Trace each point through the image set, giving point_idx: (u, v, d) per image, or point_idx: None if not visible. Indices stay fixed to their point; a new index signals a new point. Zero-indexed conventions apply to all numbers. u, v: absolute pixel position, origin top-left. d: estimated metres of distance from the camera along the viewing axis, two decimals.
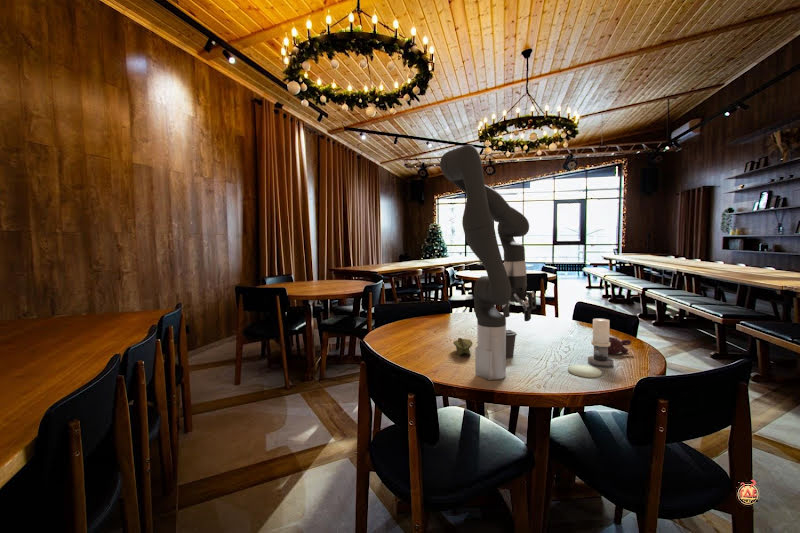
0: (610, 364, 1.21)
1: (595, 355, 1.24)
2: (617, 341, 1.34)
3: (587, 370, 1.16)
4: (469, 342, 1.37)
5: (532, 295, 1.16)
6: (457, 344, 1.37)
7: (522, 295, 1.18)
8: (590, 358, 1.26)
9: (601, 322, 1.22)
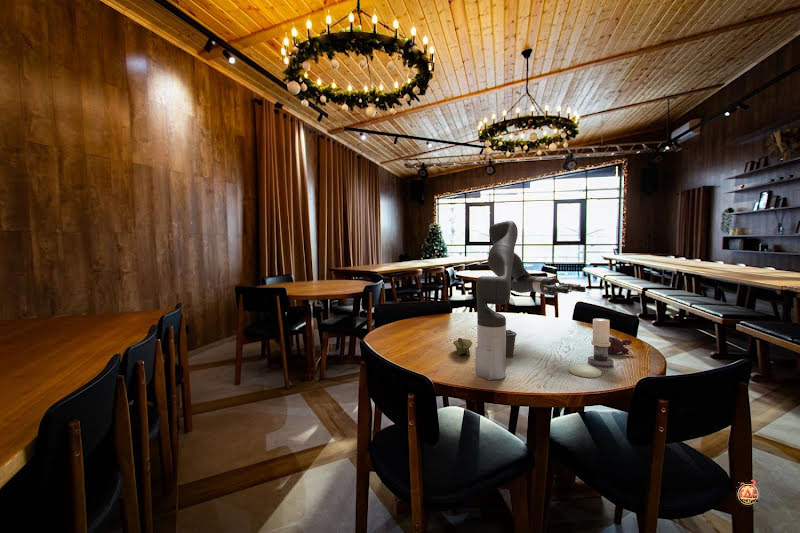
0: (610, 364, 1.21)
1: (595, 355, 1.24)
2: (617, 341, 1.34)
3: (587, 370, 1.16)
4: (469, 342, 1.37)
5: None
6: (457, 344, 1.37)
7: None
8: (590, 358, 1.26)
9: (601, 322, 1.22)
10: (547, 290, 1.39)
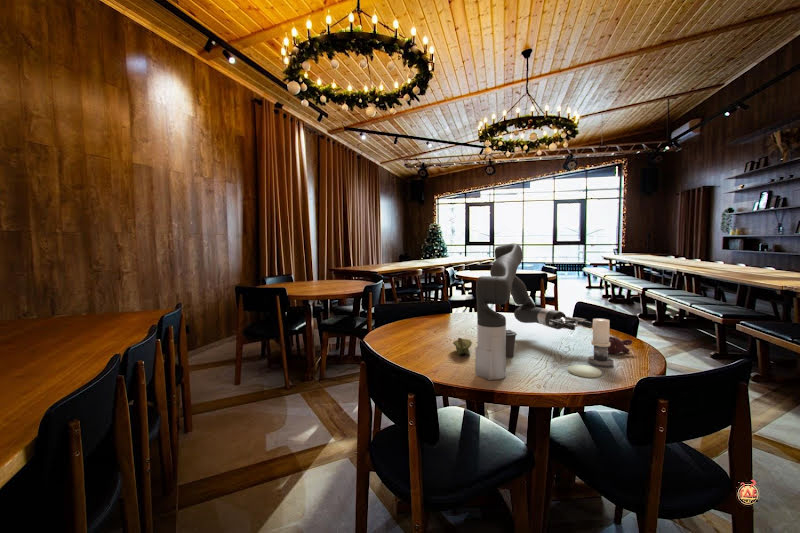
0: (610, 364, 1.21)
1: (595, 355, 1.24)
2: (618, 341, 1.34)
3: (587, 370, 1.16)
4: (468, 342, 1.37)
5: None
6: (456, 344, 1.37)
7: None
8: (590, 358, 1.26)
9: (601, 322, 1.22)
10: (553, 325, 1.37)
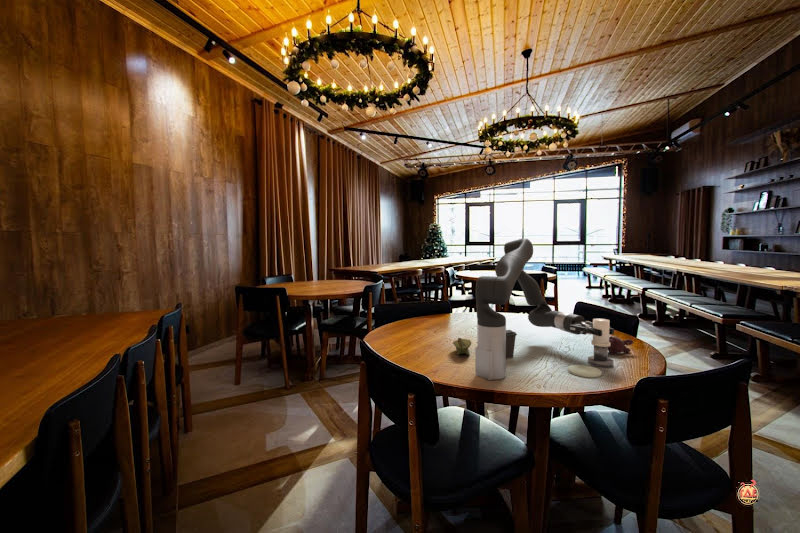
0: (610, 364, 1.21)
1: (595, 355, 1.24)
2: (618, 341, 1.34)
3: (587, 370, 1.16)
4: (468, 342, 1.37)
5: None
6: (456, 344, 1.37)
7: (592, 323, 1.32)
8: (590, 358, 1.26)
9: (601, 322, 1.22)
10: (576, 331, 1.27)
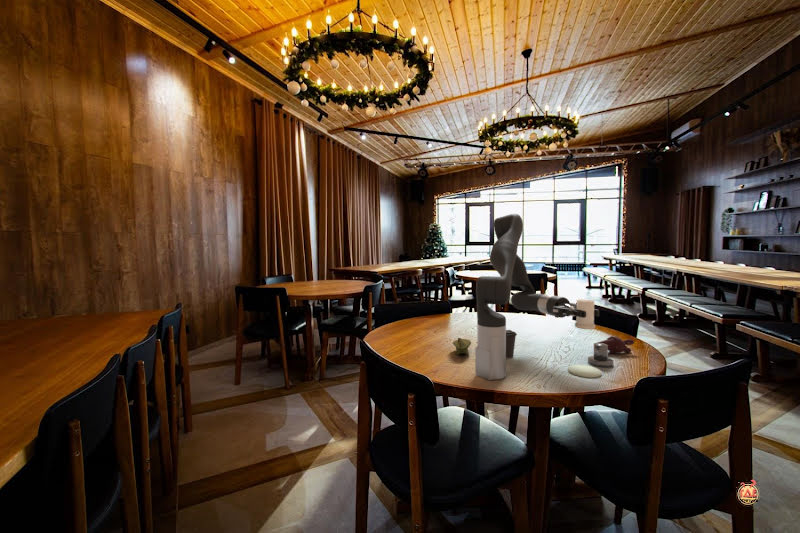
0: (610, 364, 1.21)
1: (595, 355, 1.24)
2: (619, 341, 1.34)
3: (587, 370, 1.16)
4: (468, 342, 1.37)
5: None
6: (455, 344, 1.37)
7: None
8: (590, 358, 1.26)
9: (585, 303, 1.13)
10: (559, 313, 1.18)
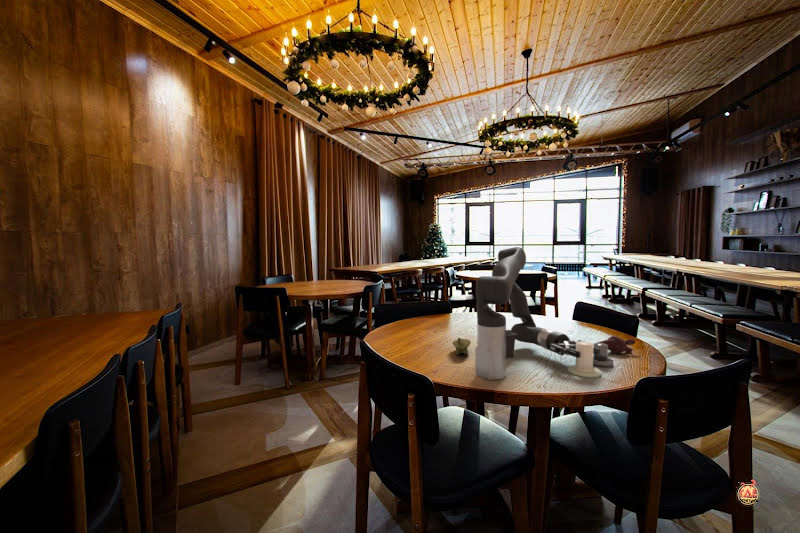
0: (610, 364, 1.21)
1: (595, 355, 1.24)
2: (620, 340, 1.35)
3: None
4: (467, 342, 1.37)
5: None
6: (455, 344, 1.37)
7: (575, 342, 1.24)
8: None
9: (584, 346, 1.14)
10: (555, 351, 1.20)
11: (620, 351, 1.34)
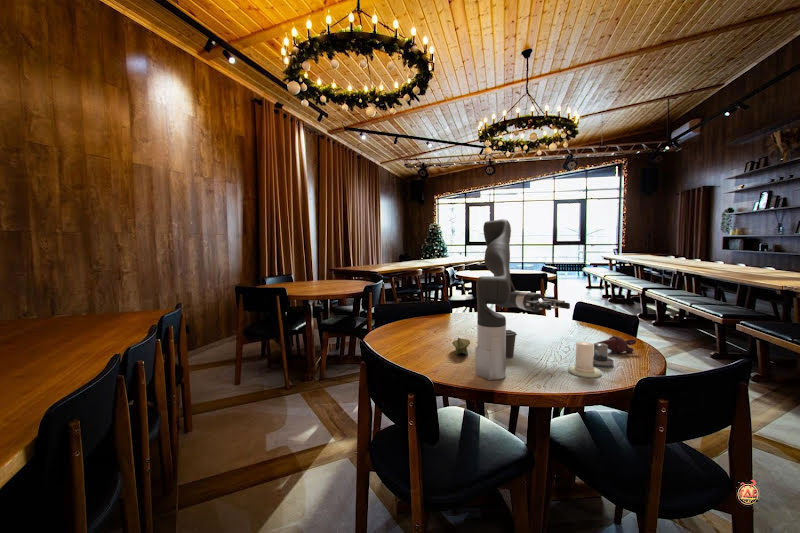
0: (610, 364, 1.21)
1: (595, 355, 1.24)
2: (621, 340, 1.35)
3: None
4: (467, 342, 1.37)
5: None
6: (454, 344, 1.37)
7: None
8: None
9: (584, 346, 1.14)
10: (529, 306, 1.31)
11: (621, 351, 1.35)
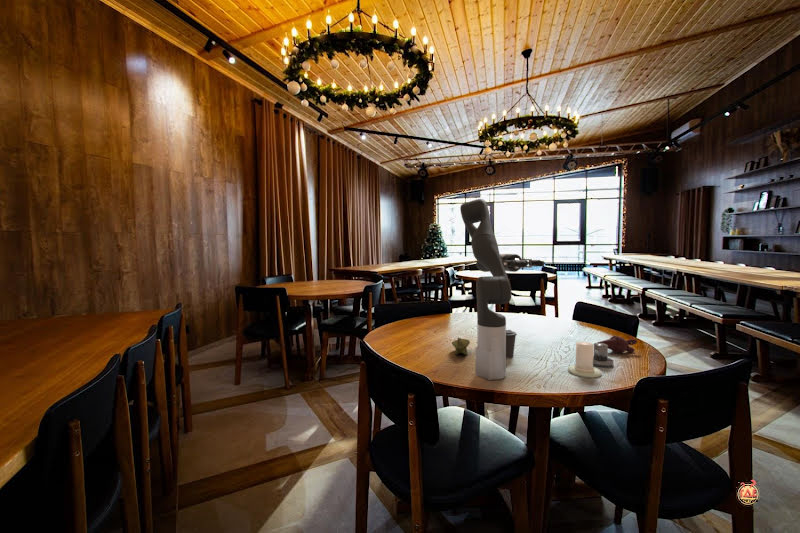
0: (610, 364, 1.21)
1: (595, 355, 1.24)
2: (621, 340, 1.35)
3: None
4: (466, 342, 1.37)
5: None
6: (454, 344, 1.37)
7: (526, 260, 1.43)
8: None
9: (584, 346, 1.14)
10: (506, 265, 1.39)
11: (621, 351, 1.35)
